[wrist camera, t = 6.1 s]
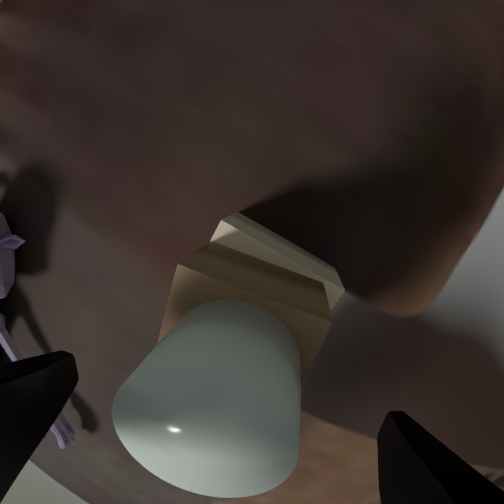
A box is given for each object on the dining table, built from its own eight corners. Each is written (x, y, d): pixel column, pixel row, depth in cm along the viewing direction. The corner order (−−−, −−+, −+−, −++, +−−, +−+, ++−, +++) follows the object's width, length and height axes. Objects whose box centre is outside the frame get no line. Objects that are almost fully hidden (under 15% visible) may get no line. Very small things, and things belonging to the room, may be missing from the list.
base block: (238, 212, 17) (221, 219, 13) (334, 266, 17) (345, 290, 13) (191, 301, 18) (166, 329, 14) (279, 350, 18) (274, 388, 14)
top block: (211, 241, 13) (177, 263, 9) (323, 282, 13) (333, 322, 9) (182, 338, 14) (148, 383, 11) (280, 375, 14) (273, 431, 10)
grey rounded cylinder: (198, 273, 9) (136, 329, 5) (326, 339, 9) (339, 427, 5) (154, 374, 10) (100, 444, 7) (261, 427, 10) (244, 512, 6)
